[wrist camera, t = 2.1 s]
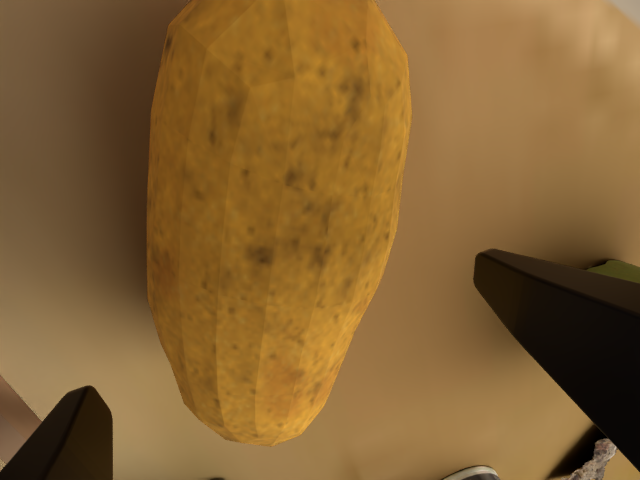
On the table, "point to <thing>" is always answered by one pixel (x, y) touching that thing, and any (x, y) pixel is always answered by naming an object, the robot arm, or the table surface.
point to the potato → (271, 201)
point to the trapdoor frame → (14, 422)
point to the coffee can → (474, 474)
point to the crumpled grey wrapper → (595, 462)
